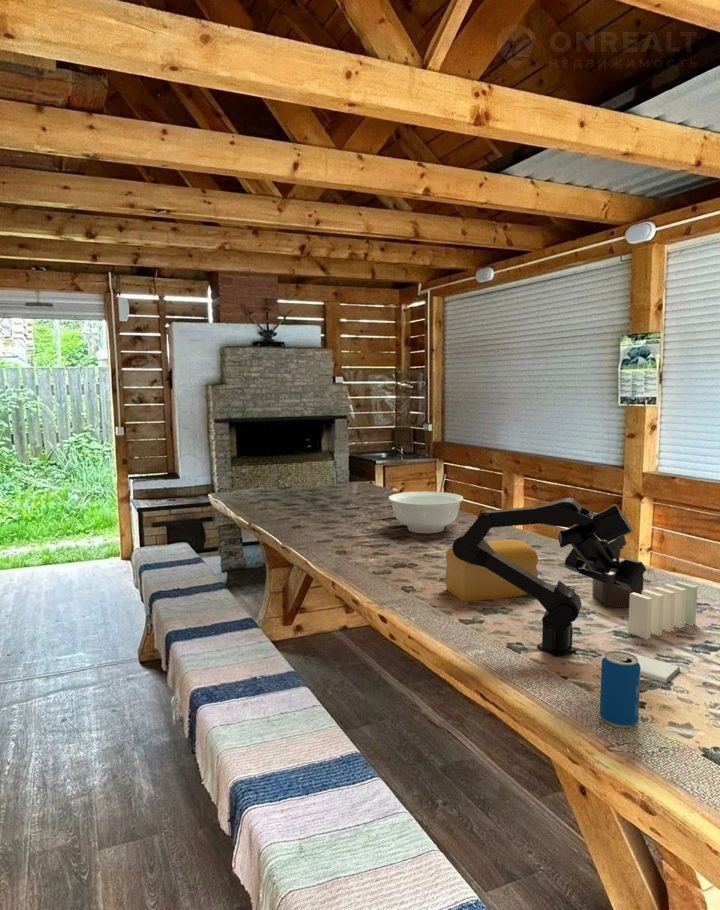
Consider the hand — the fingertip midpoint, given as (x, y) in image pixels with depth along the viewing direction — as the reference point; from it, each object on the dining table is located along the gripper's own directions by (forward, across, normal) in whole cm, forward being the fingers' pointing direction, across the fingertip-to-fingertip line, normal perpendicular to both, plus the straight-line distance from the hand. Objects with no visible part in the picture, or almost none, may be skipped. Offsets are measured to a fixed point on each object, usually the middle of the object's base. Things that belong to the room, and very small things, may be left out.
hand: (619, 586), depth 147 cm
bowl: (+31, +122, -12) cm, 126 cm away
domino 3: (+22, 0, -2) cm, 22 cm away
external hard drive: (+5, -12, +15) cm, 20 cm away
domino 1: (+15, 0, +4) cm, 16 cm away
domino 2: (+18, 0, +1) cm, 19 cm away
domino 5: (+28, 0, -9) cm, 29 cm away
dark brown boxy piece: (+28, +21, -8) cm, 36 cm away
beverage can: (-11, -24, +31) cm, 41 cm away
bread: (+9, +44, +10) cm, 46 cm away
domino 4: (+25, 0, -6) cm, 26 cm away
